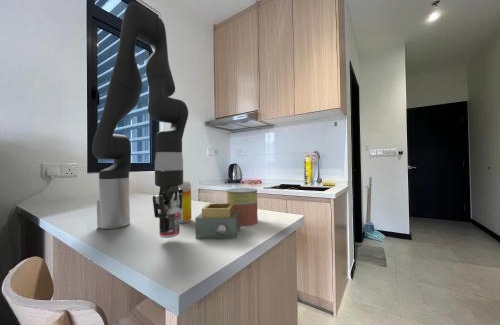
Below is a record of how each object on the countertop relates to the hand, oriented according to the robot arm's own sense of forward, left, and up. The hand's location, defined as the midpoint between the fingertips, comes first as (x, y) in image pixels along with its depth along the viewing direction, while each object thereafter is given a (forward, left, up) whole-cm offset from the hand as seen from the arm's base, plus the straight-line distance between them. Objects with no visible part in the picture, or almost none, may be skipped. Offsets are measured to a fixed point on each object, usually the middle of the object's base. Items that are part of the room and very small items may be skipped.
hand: (169, 227), depth 61 cm
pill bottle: (0, 0, -2) cm, 2 cm away
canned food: (+18, +20, -4) cm, 28 cm away
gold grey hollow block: (+12, +7, -4) cm, 15 cm away
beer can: (-5, +21, -4) cm, 22 cm away
